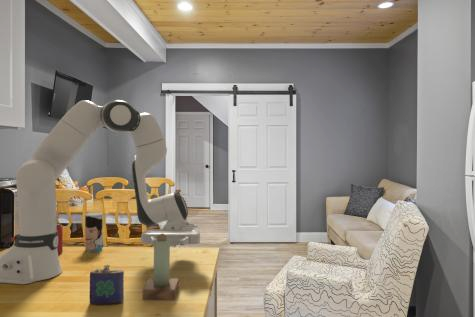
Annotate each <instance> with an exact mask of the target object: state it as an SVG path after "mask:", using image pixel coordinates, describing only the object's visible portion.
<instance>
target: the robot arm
mask: <svg viewBox="0 0 475 317" xmlns="http://www.w3.org/2000/svg"><path fill="white" fill-rule="evenodd" d="M100 128H102V129H103V128H104V129H106V130H109V131H111V132H117V133H119V132H127V133H128V134H129V136H131V138H132V140H133V144H134V147H135V152H136V156H135V160H134V161H132V164H131V173H132V181H133V187H134V188H133V189H134V194H135V203H136V214H137V219H138V222H139V223H140V224H142V225H143V226H146V227H147V228H150V227H152V226H156V225H158V224H160V223H163V222H166V223H165V224H164V225H163V227H162V229H161V228H160V229H152V228H151V229H146V230H145V231H142V232H141V235H140V242H141V244H142V245H143V244H144V245H151V246H154V240H155V239H157V237H158V235H159V234H165V235H166V237H167V239H169V240H170V246H171V247H176V246H185V245H199V244H200V243H201V232H200V231H201V230H200V228H198V224H193V223H189V220H188V218H187V217H188V215H189V210H188V204H187V202H186V200H185V199H184V197H183V196H182V195H181V194H180V193H178V192H171V193H167V194H163V195H161V196H158V197H154V198H149V197H148V192H147V191H148V190H147V185H146V176H147V175H148V174H149V172H151V171H152V170H153V169H154V168H155V167H157V166H158V165H160V164H161V163H162V162H163V160H165V158H166V155H167V152H168V151H167V149H168V148H167V144H166V141H165V136H164V134H163V132H162V130H161V129H162V128H161V127H160V124H159V123H158V121H157V119H156V117H155V116H154V115H153V114H152V113H149V112H142V113H141V112H139V111H138V110H136V108H134V106H133V105H132V104H130V103H128V101H126V100H121V99H116V100H111V101H109V102H107V103H104V105H101V106H100V105H97V104H96V103H95V102H92V101H90V100H86V99H85V100H84V99H83V100H80V101H78V102H76V104H74V105H73V106H72V107H71V108H70V109H69V110H68V111H66V113H65V114H64V115H63V116H62V117H61V118H60V120H59V121H58V122H57V123H56V124H55V126H54V127H53V128H52V129H51V131H50V132H49V133H48V134H47V136H46V137H45V138H44V139H43V141H42V142H41V144H40V145H39V146H38V148H37V149H36V150H35V152H34V153H33V154H32V156H31V157H30V158H29V159H28V160H27V161H25V162H24V163H22V164H21V165H20V166H19V167H18V169H17V170H16V174H15V175H16V176H15V178H16V179H15V182H16V193H17V194H16V195H17V196H16V197H17V203H18V214H19V215H18V222H19V223H18V226H19V227H18V233H17V234H16V235H14V236H13V237H11V238H10V239H11V240H10V242H14V243H13V245H12V246H10V247H9V248H8V249H6V250H5V251H3V253H2V254H0V283H2V284H3V283H4V284H15V285H27V284H28V285H29V284H31V283H34V282H40V281H44V280H48V279H51V278H54V277H56V276H58V275H60V274H61V273H62V271H63V269H62V265H61V264H60V259H59V254H58V251H57V247H58V231H57V230H56V223H57V196H56V194H57V193H56V191H57V190H56V182H57V180H58V179H59V178H60V177H61V175H62V174H63V172H64V171H65V170H66V168H68V166H69V164H71V162H72V161H73V160H74V158H76V156H77V154H78V153H79V152H80V151H81V150H82V149H83V147H84V146H85V145H86V143H87V142H88V141H89V139H91V137H92V136H93V134H94V133H95V132H96V131H97V130H99V129H100Z"/></svg>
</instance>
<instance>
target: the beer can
mask: <svg viewBox="0 0 475 317" xmlns="http://www.w3.org/2000/svg"><path fill="white" fill-rule="evenodd" d="M56 230H57V231H58V247H57V251H58V255H60V254H62V253H63V243H64V242H63V226H62V223H61V222H56Z"/></svg>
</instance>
